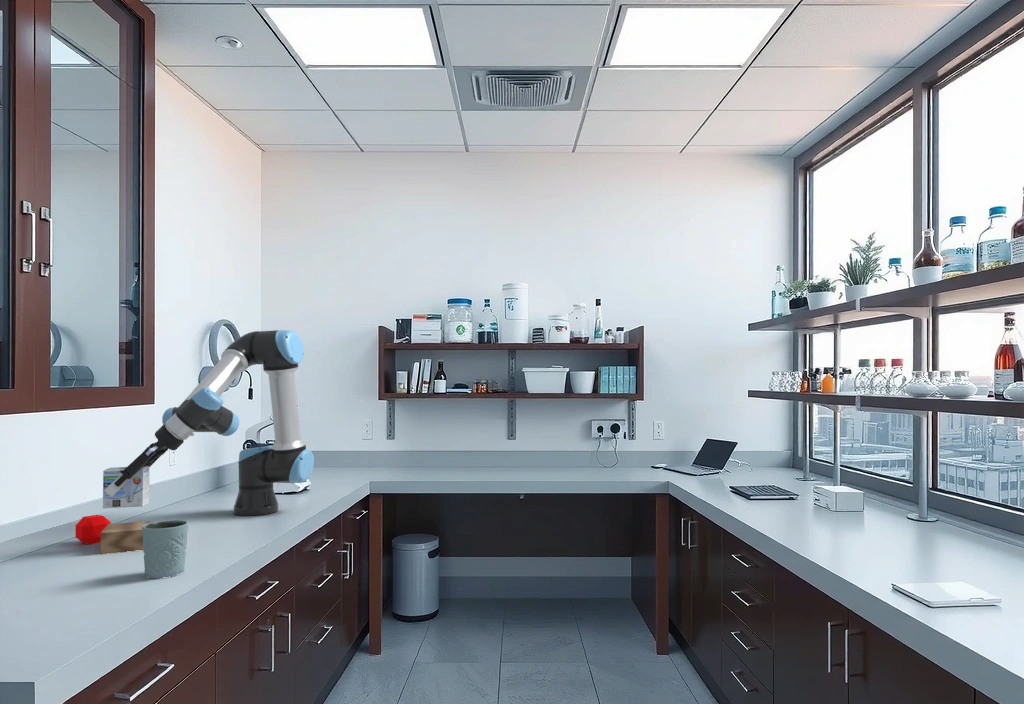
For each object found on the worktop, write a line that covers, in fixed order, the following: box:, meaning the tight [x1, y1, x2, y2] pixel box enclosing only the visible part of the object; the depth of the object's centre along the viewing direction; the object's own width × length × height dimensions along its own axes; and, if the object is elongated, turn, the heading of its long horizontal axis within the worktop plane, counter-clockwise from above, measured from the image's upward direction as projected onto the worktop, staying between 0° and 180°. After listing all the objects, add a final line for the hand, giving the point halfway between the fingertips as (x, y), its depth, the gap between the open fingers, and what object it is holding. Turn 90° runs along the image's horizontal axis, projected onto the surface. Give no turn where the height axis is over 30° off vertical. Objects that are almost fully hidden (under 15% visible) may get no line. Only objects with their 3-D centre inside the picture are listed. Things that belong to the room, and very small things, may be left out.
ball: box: [74, 514, 112, 546], centre depth 210 cm, size 8×8×8 cm
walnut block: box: [100, 520, 152, 555], centre depth 203 cm, size 11×14×6 cm
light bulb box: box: [102, 466, 150, 509], centre depth 204 cm, size 11×7×11 cm, turn 104°
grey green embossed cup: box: [142, 519, 189, 579], centre depth 172 cm, size 10×10×12 cm
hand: (113, 491), depth 203 cm, fingers closed on light bulb box, 7 cm apart
